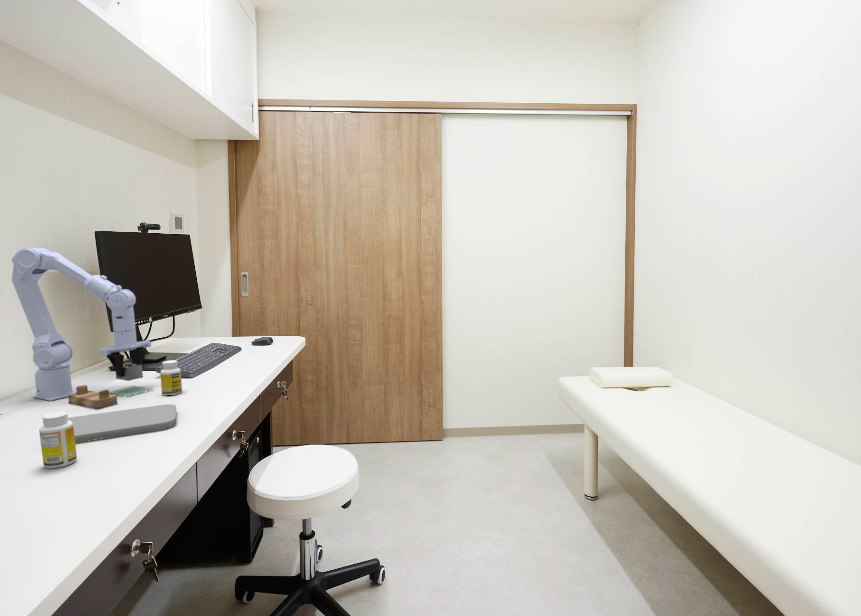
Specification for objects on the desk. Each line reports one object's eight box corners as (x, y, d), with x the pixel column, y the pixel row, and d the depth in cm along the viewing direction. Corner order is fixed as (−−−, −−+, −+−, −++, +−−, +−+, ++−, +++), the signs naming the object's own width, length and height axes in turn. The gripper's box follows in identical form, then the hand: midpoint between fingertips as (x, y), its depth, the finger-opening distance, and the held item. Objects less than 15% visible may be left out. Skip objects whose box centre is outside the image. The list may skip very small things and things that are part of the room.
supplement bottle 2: (174, 396, 150) (171, 363, 149) (157, 396, 151) (155, 363, 150) (186, 391, 155) (183, 359, 154) (170, 390, 156) (167, 359, 155)
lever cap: (116, 378, 155) (114, 363, 154) (130, 375, 159) (129, 360, 158) (128, 380, 152) (127, 365, 151) (142, 377, 156) (141, 362, 155)
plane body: (68, 403, 145) (67, 388, 145) (88, 398, 150) (87, 383, 150) (97, 409, 139) (95, 393, 138) (117, 404, 144) (116, 388, 143)
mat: (107, 393, 155) (107, 392, 155) (132, 386, 162) (132, 385, 162) (127, 397, 150) (127, 395, 150) (153, 390, 157) (153, 388, 157)
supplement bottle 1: (72, 455, 107) (67, 408, 106) (81, 462, 104) (75, 413, 103) (40, 464, 103) (34, 415, 102) (47, 472, 100) (41, 421, 98)
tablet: (59, 427, 126) (58, 418, 126) (177, 411, 137) (176, 403, 137) (43, 450, 112) (42, 440, 112) (176, 430, 123) (175, 421, 123)
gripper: (108, 335, 145) (112, 381, 147) (155, 327, 158) (159, 370, 160) (93, 333, 149) (98, 379, 150) (141, 326, 161) (145, 368, 163)
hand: (128, 374), depth 155 cm, fingers closed on lever cap, 4 cm apart
